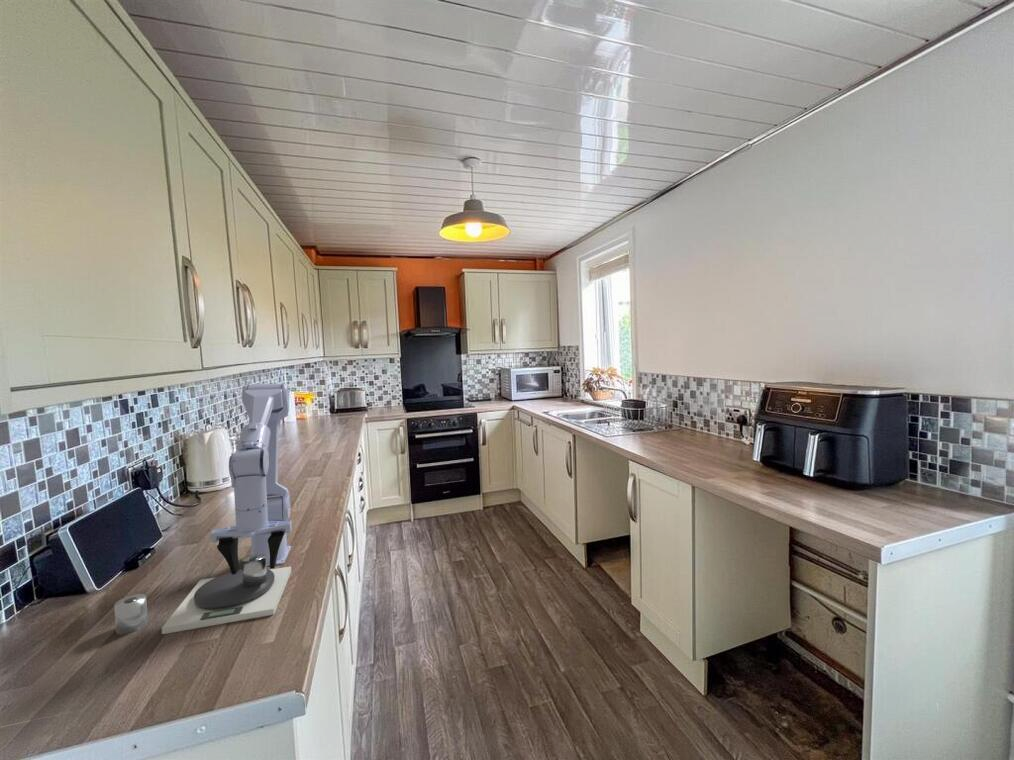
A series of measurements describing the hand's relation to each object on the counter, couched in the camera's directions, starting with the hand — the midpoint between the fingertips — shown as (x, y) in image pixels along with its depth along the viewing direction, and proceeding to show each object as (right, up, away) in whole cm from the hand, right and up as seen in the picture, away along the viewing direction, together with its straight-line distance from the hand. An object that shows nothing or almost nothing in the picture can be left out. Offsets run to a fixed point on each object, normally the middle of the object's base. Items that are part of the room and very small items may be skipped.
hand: (254, 569), depth 87 cm
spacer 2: (0, -3, 0) cm, 3 cm away
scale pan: (-3, -4, -1) cm, 5 cm away
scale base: (-3, -5, -2) cm, 6 cm away
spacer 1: (-17, -6, -10) cm, 20 cm away
